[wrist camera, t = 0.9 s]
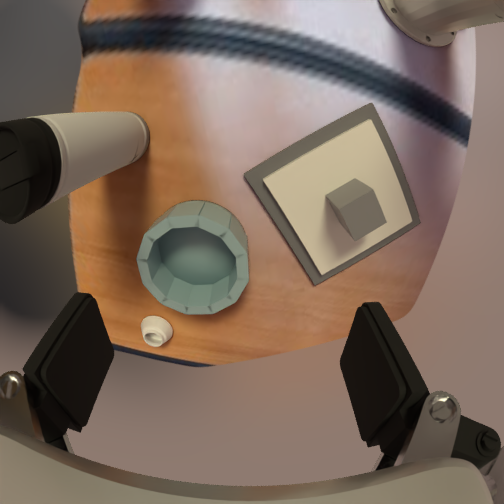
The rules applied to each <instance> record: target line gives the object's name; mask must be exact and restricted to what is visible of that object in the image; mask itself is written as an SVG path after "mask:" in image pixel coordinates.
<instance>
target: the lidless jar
mask: <svg viewBox="0 0 504 504" xmlns="http://www.w3.org/2000/svg"><path fill="white" fill-rule="evenodd" d="M141 330H142V334H143V338H144V341H145V342H146V343H147V344H149V345H151V346H154V347H158V346H161V345H162V344H163V343H165V342H166V341H168V340H169V339H170V338H171V336H172V334H173V329H172V327H171V325H170V323H168V322H167V321H166V320H165V319H163V318H161V317H158V316H147V317H146V318H144V319H143V321H142V323H141ZM153 333H154V334H153ZM155 334H156V335H155Z"/></svg>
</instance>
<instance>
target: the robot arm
mask: <svg viewBox="0 0 504 504" xmlns="http://www.w3.org/2000/svg"><path fill="white" fill-rule="evenodd" d="M379 1H380V3H381V5H382V7H383V9H384V10H385V12H386V13H387V15H388V16H389V18H390V19H391V20H392V21H393V22H394V24H396V25H397V26H398V27H399V28H400V29H401V30H402V31H403V32H404V33H405V34H407V35H408V36H409V37H411V38H412V39H414V40H416V41H417V42H420V43H422V44H424V45H427V46H431V47H440V46H445V45H448V44H449V43H451V42H452V41H453V40H454V38H455V36H456V32H457V31H458V30H462V29H466V28H471V27H476V26H481V25H486V24H492V23H497V22H504V0H379ZM113 358H114V349H113V346H112V344H111V341H110V339H109V336H108V333H107V331H106V328H105V325H104V322H103V319H102V317H101V314H100V311H99V308H98V304H97V301H96V299H95V298H93V297H92V295H91V294H89V293H80V292H77V293H76V294H74V296H73V297H72V298H71V299H70V301H69V302H68V303H67V305H66V306H65V307H64V309H63V310H62V311H61V313H60V314H59V315H58V317H57V318H56V320H55V321H54V322H53V323H52V325H51V326H50V328H49V329H48V331H47V332H46V333H45V335H44V336H43V338H42V339H41V341H40V342H39V344H38V346H37V347H36V348H35V350H34V351H33V353H32V354H31V356H30V357H29V359H28V361H27V362H26V364H25V365H24V367H23V371H24V372H25V374H24V376H22V375H21V374H20V373H19V372H17V371H8V372H6V373H4V374H3V375H1V376H0V504H504V446H503V447H502V448H501V442H500V438H499V436H498V434H497V432H496V431H494V430H493V429H492V428H490V427H488V426H485V425H483V424H480V423H478V422H476V421H473V420H471V419H469V418H467V417H464V416H462V415H461V408H460V405H459V403H458V401H457V400H456V398H455V397H454V396H452V395H451V394H449V393H447V392H443V391H436V392H433V393H431V394H430V393H429V391H428V388H427V386H426V384H425V382H424V380H423V379H422V376H421V374H420V372H419V370H418V369H417V367H416V365H415V363H414V361H413V359H412V357H411V355H410V354H409V352H408V350H407V348H406V346H405V345H404V343H403V341H402V339H401V337H400V336H399V334H398V332H397V331H396V329H395V327H394V325H393V324H392V322H391V320H390V318H389V317H388V315H387V313H386V312H385V310H384V308H383V307H382V305H381V304H380V303H379V302H365V303H363V304H362V306H361V307H358V308H357V311H356V314H355V317H354V321H353V324H352V327H351V330H350V333H349V336H348V339H347V341H346V344H345V347H344V350H343V353H342V355H341V358H340V367H341V370H342V373H343V377H344V380H345V383H346V387H347V390H348V393H349V397H350V400H351V403H352V407H353V411H354V414H355V417H356V421H357V425H358V428H359V432H360V435H361V439H362V440H363V441H366V443H367V446H368V447H372V446H376V445H380V449H381V452H382V453H381V454H380V456H379V458H378V460H377V462H376V464H375V465H374V467H373V469H372V471H371V472H369V473H364V474H360V475H355V476H350V477H344V478H338V479H333V480H326V481H319V482H311V483H303V484H292V485H277V486H223V485H208V484H198V483H189V482H181V481H174V480H168V479H162V478H156V477H151V476H146V475H142V474H137V473H133V472H129V471H125V470H121V469H117V468H114V467H110V466H107V465H104V464H100V463H97V462H94V461H91V460H88V459H85V458H82V457H80V456H77V455H75V454H74V452H73V449H72V447H71V444H70V442H69V439H68V436H67V433H66V431H67V429H68V428H69V429H72V430H75V431H77V432H81V430H82V427H84V426H86V424H87V422H88V420H89V417H90V414H91V412H92V409H93V406H94V404H95V401H96V399H97V396H98V393H99V391H100V389H101V386H102V384H103V381H104V379H105V376H106V374H107V372H108V370H109V367H110V365H111V363H112V360H113Z"/></svg>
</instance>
